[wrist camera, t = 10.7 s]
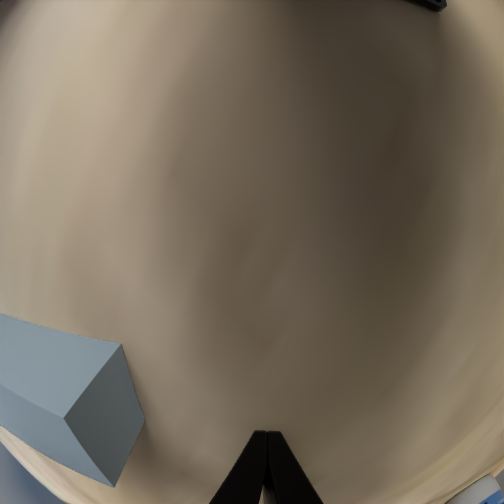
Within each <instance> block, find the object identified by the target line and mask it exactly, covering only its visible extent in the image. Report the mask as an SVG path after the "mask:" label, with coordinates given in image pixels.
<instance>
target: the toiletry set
mask: <svg viewBox="0 0 504 504" xmlns="http://www.w3.org/2000/svg"><path fill="white" fill-rule="evenodd" d="M446 504H504V495H503V493H502V491H501V489H500V487H499V485H498V483H497V481H496V480H495V478H494V477H493V475H491V474H489V475H486V476H484V477H482V478H481V479H479V480H477V481H476V482H474V483H473V484H471V485H470V486H468V487H467V488H465V489H464V490H462V491H461V492H460V493H458V494H457V495H455V496H454V497H453V498H452V499H450V500H449V501H448V502H447V503H446Z"/></svg>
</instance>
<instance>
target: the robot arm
mask: <svg viewBox="0 0 504 504" xmlns="http://www.w3.org/2000/svg"><path fill="white" fill-rule="evenodd" d="M411 1H413V2H415V3H418V4H420V5H422V6H425V7H427V8H429V9H431V10H433V11H436V12H441V11H442V10H443V9H444V8H445V7H446V6H447V3H446V0H411ZM262 486H263V500H264V504H324V503H323V502H322V500H321V499H320V497H319V496H318V494H317V492H316V491H315V489H314V488H313V486H312V484H311V483H310V481H309V479H308V478H307V476H306V474H305V473H304V471H303V469H302V468H301V466H300V464H299V463H298V461H297V459H296V458H295V456H294V454H293V452H292V451H291V449H290V447H289V445H288V444H287V442H286V440H285V438H284V437H283V435H282V433H281V432H280V431H268V432H267V431H263V430H255V431H254V432H253V434H252V436H251V437H250V439H249V441H248V443H247V444H246V446H245V448H244V449H243V451H242V453H241V455H240V456H239V458H238V459H237V461H236V463H235V464H234V466H233V468H232V469H231V471H230V472H229V474H228V476H227V477H226V479H225V480H224V482H223V483H222V485H221V487H220V488H219V490H218V491H217V493H216V494H215V496H214V497H213V498H212V500H211V501H210V503H209V504H259V500H260V495H261V491H262Z"/></svg>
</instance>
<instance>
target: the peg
mask: <svg viewBox="0 0 504 504" xmlns="http://www.w3.org/2000/svg"><path fill="white" fill-rule="evenodd" d="M144 422H145V417H144V414H143V412H142V409H141V406H140V403H139V401H138V398H137V395H136V392H135V389H134V386H133V383H132V380H131V376H130V373H129V370H128V366H127V363H126V359H125V356H124V352H123V348H122V344H120V343H114V342H109V341H104V340H99V339H94V338H89V337H84V336H80V335H75V334H71V333H67V332H63V331H59V330H55V329H51V328H48V327H44V326H40V325H37V324H33V323H30V322H27V321H23V320H20V319H17V318H14V317H11V316H8V315H5V314H2V313H0V425H1V426H2V427H4V428H5V429H6V430H8V431H9V432H10V433H12V434H13V435H15V436H16V437H17V438H19V439H20V440H22V441H23V442H25V443H26V444H28V445H29V446H31V447H33V448H34V449H36V450H37V451H39V452H41V453H42V454H44V455H46V456H47V457H49V458H51V459H53V460H55V461H56V462H58V463H60V464H62V465H64V466H66V467H68V468H70V469H72V470H74V471H76V472H78V473H80V474H82V475H85V476H87V477H89V478H91V479H94V480H96V481H99V482H101V483H103V484H106V485H109V486H111V487H114V488H115V485H116V483H117V481H118V479H119V476H120V474H121V472H122V470H123V467H124V465H125V463H126V461H127V459H128V456H129V454H130V452H131V450H132V448H133V445H134V443H135V441H136V439H137V437H138V435H139V432H140V430H141V428H142V426H143V424H144Z"/></svg>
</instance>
